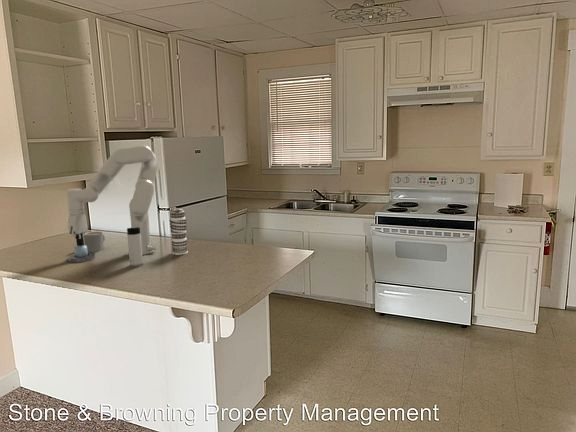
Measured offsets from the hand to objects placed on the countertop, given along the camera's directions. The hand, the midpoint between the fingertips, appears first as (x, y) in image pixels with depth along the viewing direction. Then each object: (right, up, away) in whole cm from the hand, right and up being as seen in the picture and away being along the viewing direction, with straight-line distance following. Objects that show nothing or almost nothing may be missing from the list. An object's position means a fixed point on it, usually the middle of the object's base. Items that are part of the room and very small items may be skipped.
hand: (80, 245), depth 232 cm
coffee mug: (0, -4, +21) cm, 21 cm away
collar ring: (0, -7, +1) cm, 7 cm away
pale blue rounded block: (0, -7, +1) cm, 8 cm away
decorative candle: (+51, -5, +10) cm, 52 cm away
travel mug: (+34, -9, -12) cm, 37 cm away
